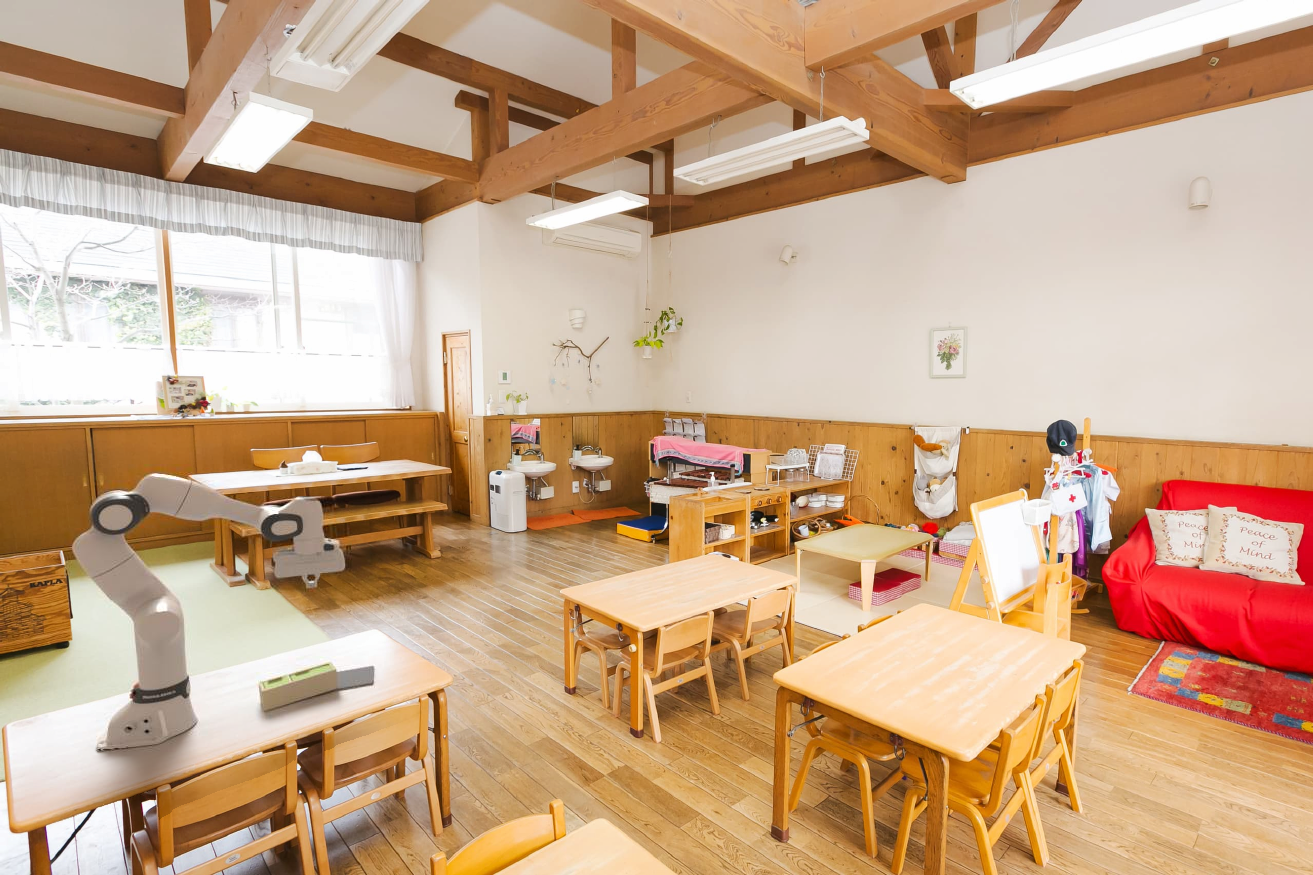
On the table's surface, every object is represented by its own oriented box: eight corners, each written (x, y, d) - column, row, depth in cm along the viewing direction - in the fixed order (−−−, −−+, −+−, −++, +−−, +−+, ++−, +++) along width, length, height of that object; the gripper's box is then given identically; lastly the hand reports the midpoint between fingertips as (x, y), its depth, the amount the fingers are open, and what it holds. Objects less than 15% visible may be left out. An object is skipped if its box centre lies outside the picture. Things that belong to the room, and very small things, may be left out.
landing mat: (315, 694, 205) (315, 692, 205) (319, 676, 218) (319, 674, 218) (372, 684, 212) (372, 682, 211) (373, 667, 224) (373, 665, 224)
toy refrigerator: (336, 667, 206) (261, 689, 193) (338, 688, 207) (264, 712, 194) (330, 659, 213) (257, 680, 200) (333, 679, 213) (260, 702, 200)
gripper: (271, 551, 200) (273, 594, 201) (343, 544, 208) (345, 585, 209) (274, 547, 205) (276, 588, 206) (344, 540, 213) (346, 580, 214)
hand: (311, 587), depth 208 cm, fingers closed
